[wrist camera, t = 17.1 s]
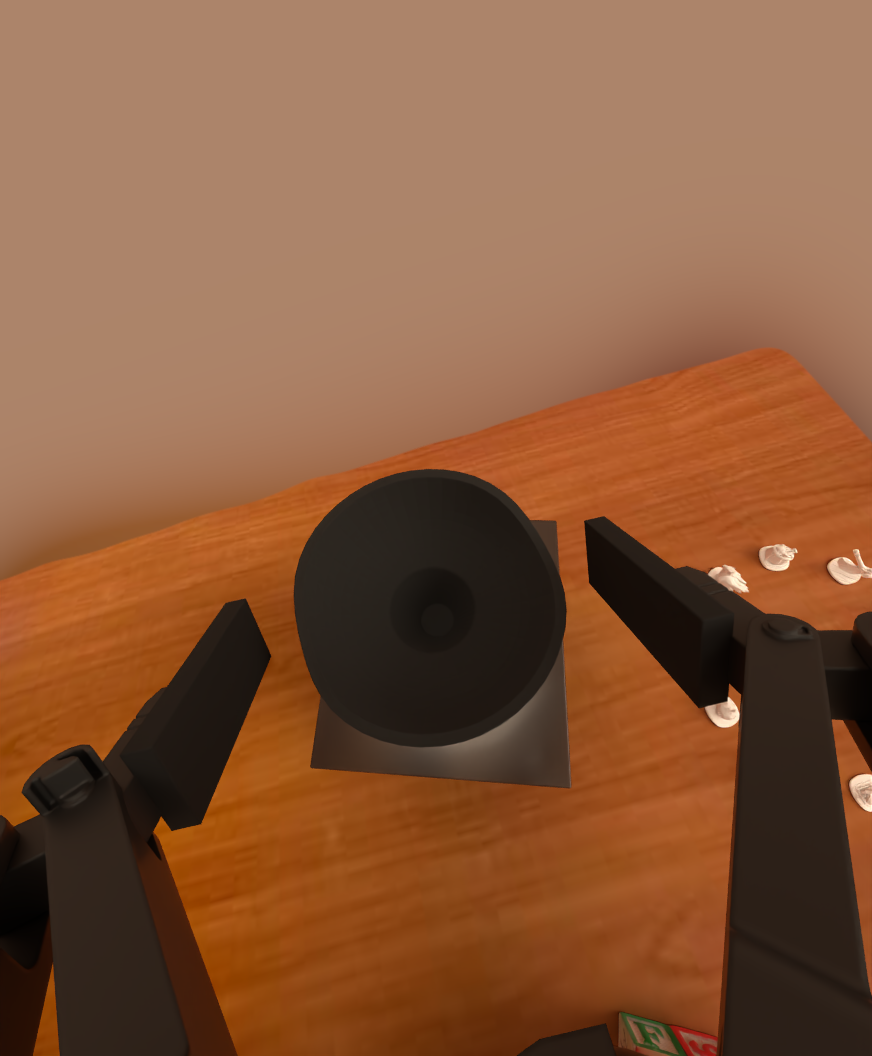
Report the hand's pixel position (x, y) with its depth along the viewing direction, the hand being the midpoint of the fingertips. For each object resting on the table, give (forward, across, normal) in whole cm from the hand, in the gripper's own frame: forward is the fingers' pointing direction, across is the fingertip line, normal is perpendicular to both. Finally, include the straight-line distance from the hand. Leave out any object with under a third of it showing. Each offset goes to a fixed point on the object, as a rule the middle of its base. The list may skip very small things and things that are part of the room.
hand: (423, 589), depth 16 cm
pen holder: (+6, 0, -6) cm, 8 cm away
